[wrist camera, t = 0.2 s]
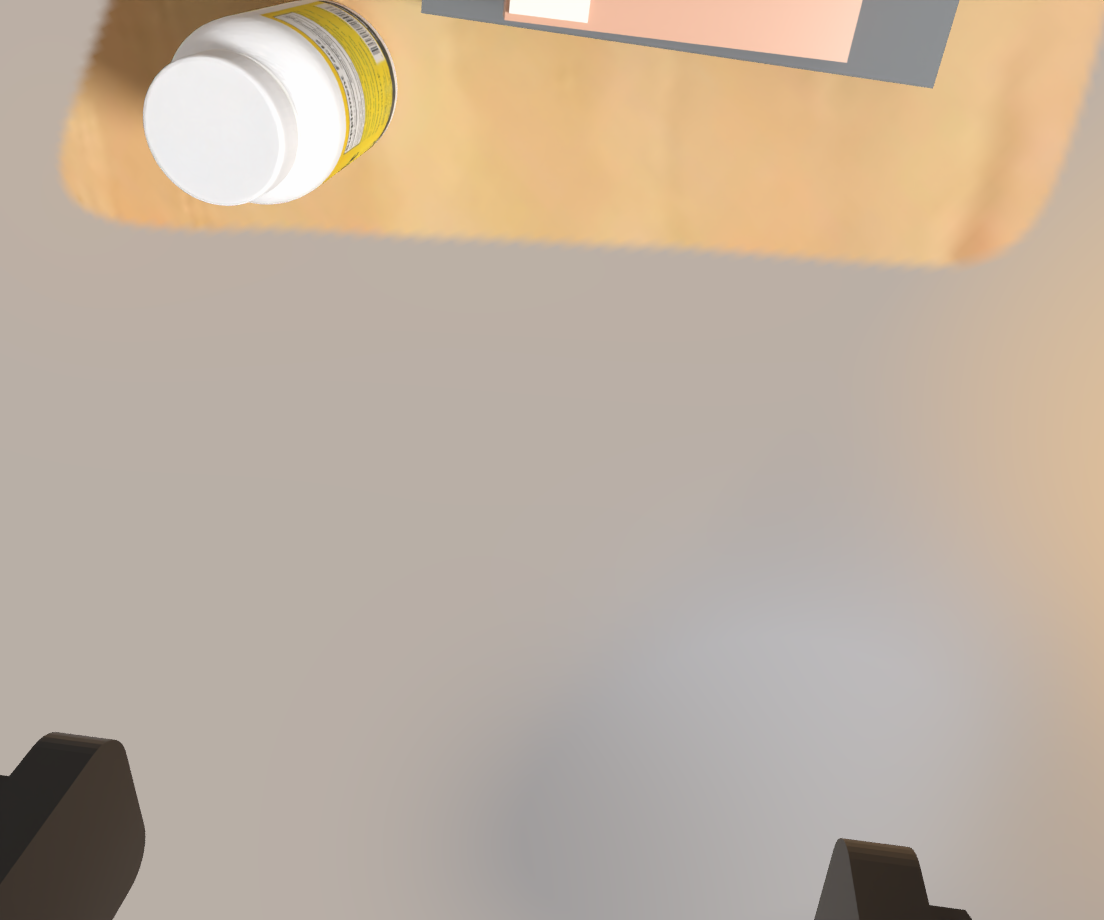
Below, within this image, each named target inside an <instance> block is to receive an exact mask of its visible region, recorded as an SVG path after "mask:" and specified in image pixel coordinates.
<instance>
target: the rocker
mask: <svg viewBox="0 0 1104 920" xmlns="http://www.w3.org/2000/svg"><path fill="white" fill-rule="evenodd" d="M862 1H863V0H504V7H503V18H504V20H508V21H516V22H524V23H532V24H540V25H548V26H556V27H564V28H572V29H580V30H588V31H596V32H604V33H612V34H620V35H628V36H636V37H644V38H652V39H660V40H668V41H676V42H684V43H692V44H700V45H708V46H716V47H724V48H732V49H740V50H748V51H756V52H764V53H772V54H780V55H788V56H796V57H804V58H813V59H821V60H829V61H837V62H845V63H847V59H848V56H849V52H850V48H851V44H852V40H853V36H854V32H855V28H856V24H857V20H858V16H859V12H860V9H861V5H862Z"/></svg>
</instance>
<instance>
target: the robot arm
mask: <svg viewBox="0 0 1104 920" xmlns="http://www.w3.org/2000/svg"><path fill="white" fill-rule="evenodd" d="M144 846H145V828H144V823H143V819H142V815H141V811H140V807H139V803H138V799H137V795H136V791H135V787H134V783H133V779H132V775H131V771H130V767H129V763H128V759H127V755H126V751H125V749H124V747H123V745H122V744H121V743H120V742H119V741H117V740H112V739H104V738H97V737H89V736H82V735H73V734H66V733H59V732H52V733H49V734H47V735H46V736H43V737H42V738H41V739H40V740H39V741H38V742H37V743H36V744H35V745H34V746H33V747H32V749H31V750H30V751H29V752H28V753H27V755H26V756H25V757H24V758H23V760H22V761H21V763H20V764H19V765H18V766H17V767H16V769H15V770H14V771H13V772H12V773H11V775H10V776H2V775H0V920H112V919H113V918H114V916H115V914H116V913H117V911H118V909H119V907H120V906H121V904H122V902H123V901H124V899H125V897H126V895H127V894H128V892H129V890H130V888H131V886H132V885H133V883H134V881H135V878H136V876H137V874H138V871H139V868H140V865H141V861H142V858H143V853H144ZM814 920H972V919H971V918H970V916H969V915H968V914H967V912H966V911H965V910H961V909H952V908H946V907H938V906H931V905H929V902H928V898H927V894H926V889H925V885H924V881H923V877H922V872H921V869H920V865H919V861H918V858H917V856H916V854H915V852H914V850H913V849H912V848H910V847H904V846H896V845H889V844H880V843H872V842H866V841H858V840H851V839H842V838H840V839H838V840H837V842H836V844H835V848H834V850H833V854H832V857H831V861H830V864H829V868H828V872H827V875H826V879H825V883H824V886H823V890H822V894H821V897H820V901H819V904H818V908H817V912H816V915H815V919H814Z"/></svg>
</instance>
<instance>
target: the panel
mask: <svg viewBox="0 0 1104 920" xmlns="http://www.w3.org/2000/svg"><path fill="white" fill-rule="evenodd" d="M958 3H959V0H863V1H862V5H861V9H860V12H859V16H858V20H857V24H856V28H855V32H854V36H853V40H852V44H851V48H850V52H849V56H848V59H847V63H845V62H837V61H829V60H821V59H813V58H804V57H796V56H788V55H780V54H772V53H764V52H756V51H748V50H740V49H732V48H724V47H716V46H708V45H700V44H692V43H684V42H676V41H668V40H660V39H652V38H644V37H636V36H628V35H620V34H612V33H604V32H596V31H588V30H580V29H572V28H564V27H556V26H548V25H540V24H532V23H524V22H516V21H508V20H504V18H503V7H504V0H422V10H421V13H425V14H432V15H439V16H446V17H452V18H459V19H466V20H473V21H480V22H486V23H493V24H500V25H507V26H513V27H520V28H527V29H534V30H541V31H547V32H554V33H561V34H568V35H574V36H581V37H588V38H595V39H602V40H608V41H615V42H622V43H629V44H636V45H642V46H649V47H656V48H663V49H669V50H676V51H683V52H690V53H697V54H703V55H710V56H717V57H724V58H730V59H737V60H744V61H751V62H758V63H764V64H771V65H778V66H785V67H791V68H798V69H805V70H812V71H819V72H825V73H832V74H839V75H846V76H852V77H859V78H866V79H873V80H880V81H886V82H893V83H900V84H907V85H913V86H920V87H927V88H933V86H934V83H935V79H936V76H937V73H938V69H939V66H940V63H941V59H942V56H943V53H944V50H945V46H946V43H947V40H948V36H949V33H950V30H951V26H952V23H953V20H954V16H955V13H956V10H957V6H958Z"/></svg>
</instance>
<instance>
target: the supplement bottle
mask: <svg viewBox="0 0 1104 920" xmlns="http://www.w3.org/2000/svg"><path fill="white" fill-rule="evenodd" d="M396 101H397V78H396V71H395V67H394V63H393V60H392V57H391V55H390V52H389V50H388V48H387V46H386V44H385V43H384V41H383V39H382V38H381V36H380V35H379V34H378V32H377V31H376V30H375V29H374V27H373V26H372V25H371V24H370V23H369V22H368V21H367V20H366V19H364V18H363V17H362V16H361V15H359V14H358V13H357V12H355V11H353V10H352V9H350V8H348V7H346V6H344V5H341V4H339V3H336V2H332V1H328V0H299V1H293V2H287V3H283V4H279V5H274V6H270V7H265V8H261V9H256V10H252V11H247V12H243V13H238V14H234V15H229V16H226V17H222V18H219V19H216V20H213V21H211V22H209V23H206V24H204V25H202V26H201V27H199V28H198V29H196V30H195V31H194V32H193V33H191V34H190V35H189V36H188V37H187V38H186V39H185V40H184V41H183V42H182V44H181V45H180V47H179V48H178V50H177V51H176V53H175V55H174V57H173V59H172V61H171V63H170V64H168V65H167V66H165V67H164V68H163V69H162V70H161V71H160V72H159V73H158V74H157V75H156V76H155V78H154V80H153V81H152V83H151V85H150V87H149V88H148V91H147V94H146V97H145V101H144V108H143V126H144V131H145V136H146V139H147V143H148V146H149V148H150V151H151V153H152V155H153V157H154V159H155V160H156V162H157V164H158V165H159V167H160V168H161V169H162V171H163V172H164V173H165V175H166V176H167V177H168V178H169V179H170V180H171V181H172V182H173V183H174V184H175V185H177V186H178V187H179V188H180V189H182V190H183V191H184V192H186V193H187V194H189V195H191V196H193V197H194V198H197V199H199V200H201V201H204V202H207V203H211V204H215V205H223V206H233V205H240V204H245V203H248V202H250V203H256V204H279V203H285V202H289V201H292V200H295V199H298V198H300V197H302V196H304V195H306V194H308V193H309V192H311V191H313V190H314V189H316V188H318V187H319V186H320V185H321V184H323V183H324V182H325V181H327V180H328V179H329V178H331V177H332V176H333V175H335V174H336V173H337V172H339V171H340V170H342V169H343V168H344V167H346V166H347V165H348V164H350V163H351V162H352V161H354V160H355V159H356V158H358V157H359V156H361V155H362V154H363V153H365V152H366V151H367V150H369V149H370V148H371V147H372V146H373V145H374V144H375V143H376V142H377V141H378V140H379V139H380V138H381V137H382V135H383V134H384V133H385V131H386V130H387V128H388V126H389V124H390V122H391V120H392V117H393V114H394V111H395V107H396Z"/></svg>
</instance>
